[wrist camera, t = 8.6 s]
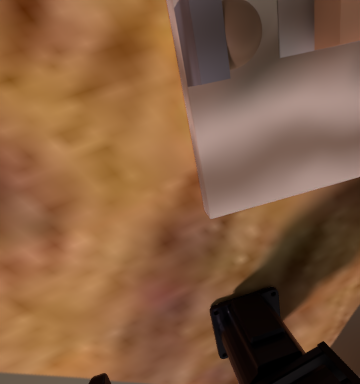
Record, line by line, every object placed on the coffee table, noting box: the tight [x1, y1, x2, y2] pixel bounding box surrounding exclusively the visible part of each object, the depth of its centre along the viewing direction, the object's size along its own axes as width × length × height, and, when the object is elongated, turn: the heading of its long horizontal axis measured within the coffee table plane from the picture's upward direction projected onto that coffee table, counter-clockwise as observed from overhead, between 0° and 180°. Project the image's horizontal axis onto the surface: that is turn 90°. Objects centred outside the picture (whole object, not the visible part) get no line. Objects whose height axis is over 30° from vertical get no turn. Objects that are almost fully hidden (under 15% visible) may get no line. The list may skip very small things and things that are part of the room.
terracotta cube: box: [314, 0, 360, 50], centre depth 15 cm, size 3×2×2 cm, turn 11°
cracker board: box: [166, 0, 360, 219], centre depth 16 cm, size 18×19×5 cm
